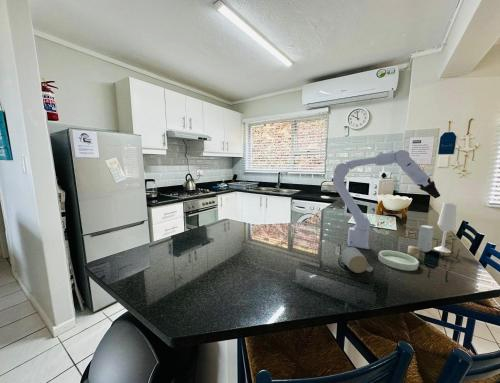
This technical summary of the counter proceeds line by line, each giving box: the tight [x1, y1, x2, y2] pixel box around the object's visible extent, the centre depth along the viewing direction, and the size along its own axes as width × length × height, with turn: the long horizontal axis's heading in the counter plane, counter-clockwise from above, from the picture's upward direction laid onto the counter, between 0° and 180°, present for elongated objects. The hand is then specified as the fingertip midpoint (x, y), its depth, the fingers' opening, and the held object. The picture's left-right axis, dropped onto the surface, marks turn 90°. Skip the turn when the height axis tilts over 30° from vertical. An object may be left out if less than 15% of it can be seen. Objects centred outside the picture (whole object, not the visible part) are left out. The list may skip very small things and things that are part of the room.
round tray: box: [377, 249, 420, 272], centre depth 91 cm, size 14×14×3 cm
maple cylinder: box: [406, 245, 420, 261], centre depth 97 cm, size 4×4×5 cm
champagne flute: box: [433, 202, 457, 254], centre depth 107 cm, size 7×7×24 cm
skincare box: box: [416, 224, 435, 253], centre depth 107 cm, size 6×4×12 cm
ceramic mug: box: [341, 246, 374, 274], centre depth 84 cm, size 11×8×8 cm
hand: (436, 195), depth 96 cm, fingers open, 7 cm apart
